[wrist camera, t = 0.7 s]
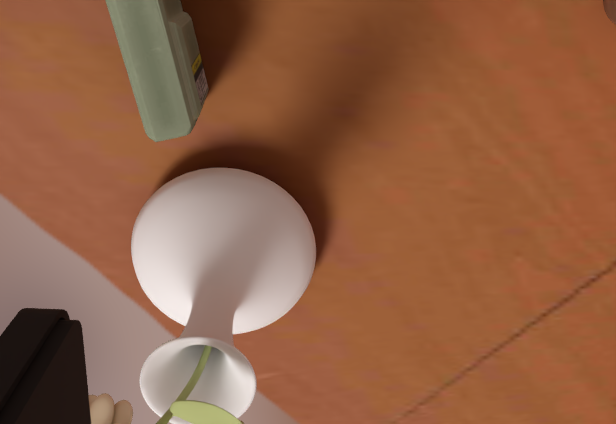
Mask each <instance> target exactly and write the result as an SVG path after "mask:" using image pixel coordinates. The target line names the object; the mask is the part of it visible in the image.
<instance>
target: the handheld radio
mask: <svg viewBox="0 0 616 424" xmlns="http://www.w3.org/2000/svg"><path fill="white" fill-rule="evenodd" d="M106 3H107V7H108V10H109V13H110V17H111V20H112V23H113V27H114V30H115V33H116V36H117V40H118V43H119V46H120V50H121V53H122V56H123V60H124V63H125V66H126V70H127V73H128V76H129V79H130V83H131V86H132V89H133V93H134V96H135V99H136V103H137V106H138V109H139V113H140V116H141V119H142V122H143V126H144V129H145V132H146V134H147V136H148V137H149V138H150V139H152V140H154V141H155V142H159V141H163V140H168V139H172V138H177V137H181V136H186V135H188V134H190V133H191V131H192V129H193V127H194V126H195V124H196V121H197V118H198V117H199V115H200V112H201V110H202V107H203V104H204V101H205V99H206V96H207V93H208V90H209V88H208V84H207V80H206V76H205V72H204V68H203V64H202V60H201V56H200V51H199V47H198V43H197V39H196V35H195V31H194V27H193V23H192V19H191V17H190V16H189V15H188V13H186V12H183V9H182V5H181V1H180V0H106Z"/></svg>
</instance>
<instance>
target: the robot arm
mask: <svg viewBox="0 0 616 424" xmlns="http://www.w3.org/2000/svg"><path fill="white" fill-rule="evenodd" d="M0 424H91V416H90V406H89V395H88V385H87V375H86V365H85V355H84V344H83V335H82V327H81V323H80V322H79V321H78V320H70V319H69V315H68V313H67V311H65V310H62V309H61V310H60V309H35V308H24V309H22V310H20V311H19V312H18V314H17V315H16V317H15V318H14V319H13V320H12V321H11V323H10V324H9V325H8V327H7V328H6V329H5V331H4V332H3V333H2V335H1V336H0Z"/></svg>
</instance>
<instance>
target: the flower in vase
mask: <svg viewBox="0 0 616 424" xmlns="http://www.w3.org/2000/svg"><path fill="white" fill-rule="evenodd" d="M131 254H132V261H133V265H134V268H135V272H136V275H137V278H138V280H139V282H140V285H141V287H142V288H143V290H144V292H145V293H146V295H147V296H148V297H149V299H150V300H151V301H152V302H153V304H154V305H155V306H156V307H157V308H159V309H160V310H161V311H162V312H163V313H164V314H166V315H167V316H168V317H170V318H171V319H173V320H175V321H176V322H178V323H180V324H182V325H184V326H185V328H184V330H183V332H182V334H181V335H180V337H179V338H175V339H173V340H170V341H168V342H166V343H164V344H162V345H161V346H159V347H158V348H157V349H156V350H154V351H153V352H152V353H151V354H150V356H149V357H148V358H147V359H146V361H145V363H144V364H143V367H142V369H141V374H140V389H141V392H142V395H143V397H144V399H145V401H146V403H147V404H148V406H149V407H150V408H151V409H152V410H153V411H154V412H155V413H156V414H157V415H159V416H160V417H161V419H160V420H159V421H158V422H157V423H156V424H167V423H168V422H170V423H173V424H240V423H242V424H244V423H243V422H242V421H240V420H238V419H237V418H238V417H240V416H241V415H242V414H243V413H244V412H245V411H246V410H247V409H248V408H249V406H250V405H251V403H252V401H253V399H254V396H255V393H256V377H255V373H254V370H253V368H252V366H251V364H250V362H249V361H248V359H247V358H246V357H245V356H244V355H243V354H242V353H241V352H240V351H239V350H238V349H237V348H235V347H234V343H233V334H239V333H245V332H249V331H253V330H257V329H259V328H262V327H265V326H267V325H269V324H271V323H273V322H275V321H276V320H278V319H279V318H280V317H282V316H283V315H284V314H286V313H287V312H288V311H289V310H290V309H291V308H292V307H293V306H294V305H295V304H296V302H297V301H298V300H299V299H300V297H301V296H302V295H303V293H304V292H305V290H306V289H307V287H308V285H309V282H310V280H311V278H312V275H313V271H314V268H315V261H316V244H315V237H314V233H313V230H312V227H311V224H310V222H309V220H308V218H307V216H306V214H305V213H304V211H303V209H302V208H301V206H300V205H299V204H298V203H297V202H296V200H295V199H294V198H293V197H292V196H291V195H290V194H289V193H288V192H286V191H285V190H284V189H283V188H281V187H280V186H278V185H277V184H276V183H274V182H272V181H270V180H269V179H267V178H265V177H263V176H260V175H257V174H255V173H252V172H249V171H244V170H240V169H234V168H207V169H200V170H196V171H192V172H189V173H186V174H183V175H181V176H179V177H176V178H174V179H173V180H171V181H169V182H167V183H166V184H164V185H163V186H162V187H161V188H159V189H158V190H157V191H156V192H155V193H154V194H153V195H152V196H151V197H150V198H149V199H148V200H147V202H146V203H145V204H144V206H143V207H142V209H141V211H140V213H139V215H138V217H137V219H136V222H135V225H134V228H133V232H132V238H131ZM89 406H90V416H91V424H131V421H132V416H133V409H132V406H131V404H130V403H129V402H128V401H126V400H122V401H119V402H118V403H116V404H115V405H114V401H113V399H112V397H111V396H110V395H109V394H106V393H105V394H101V395H99V396H98V397H97V396H95V395H89Z"/></svg>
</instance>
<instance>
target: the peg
mask: <svg viewBox="0 0 616 424" xmlns="http://www.w3.org/2000/svg"><path fill="white" fill-rule="evenodd" d="M603 5H604V9H605V12H606V14H607V16H608V18H609V19H610V20H611V21H612V22H613V23H614V24H616V0H603Z"/></svg>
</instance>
